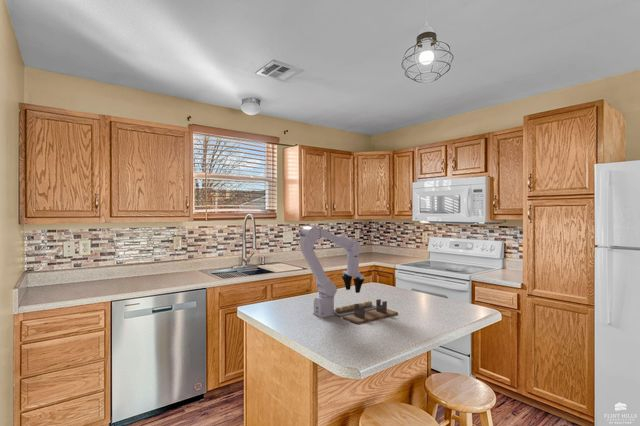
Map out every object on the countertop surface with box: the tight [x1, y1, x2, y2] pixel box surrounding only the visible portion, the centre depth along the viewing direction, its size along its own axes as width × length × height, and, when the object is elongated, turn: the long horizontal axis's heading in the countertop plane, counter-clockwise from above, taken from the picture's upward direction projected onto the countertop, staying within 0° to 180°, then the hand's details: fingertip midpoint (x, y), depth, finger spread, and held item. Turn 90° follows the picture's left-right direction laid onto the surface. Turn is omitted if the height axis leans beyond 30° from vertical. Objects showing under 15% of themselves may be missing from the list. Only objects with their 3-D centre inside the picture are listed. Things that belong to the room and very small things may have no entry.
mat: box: [334, 304, 376, 318], centre depth 170 cm, size 26×9×1 cm, turn 124°
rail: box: [334, 300, 373, 313], centre depth 170 cm, size 22×2×2 cm, turn 124°
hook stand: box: [342, 298, 399, 325], centre depth 161 cm, size 26×10×6 cm, turn 124°
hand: (352, 291), depth 172 cm, fingers open, 7 cm apart
